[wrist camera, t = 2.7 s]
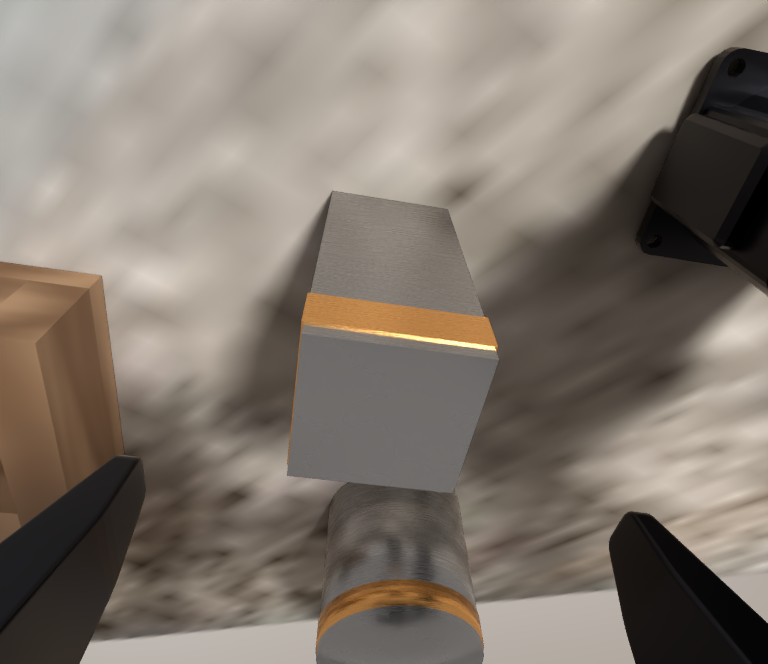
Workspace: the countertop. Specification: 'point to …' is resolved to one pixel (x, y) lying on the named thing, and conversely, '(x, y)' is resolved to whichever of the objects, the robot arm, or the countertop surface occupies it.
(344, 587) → the cylinder
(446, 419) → the square bit
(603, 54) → the countertop surface
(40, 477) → the block
